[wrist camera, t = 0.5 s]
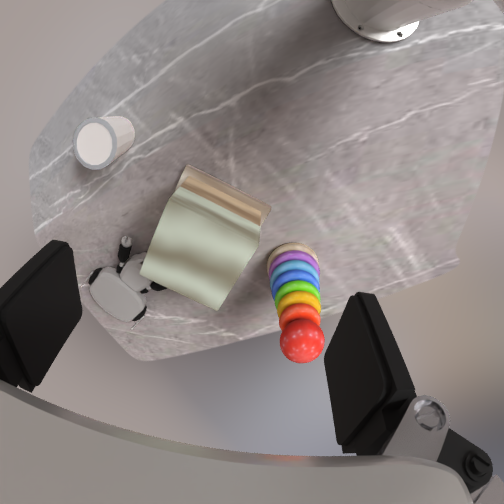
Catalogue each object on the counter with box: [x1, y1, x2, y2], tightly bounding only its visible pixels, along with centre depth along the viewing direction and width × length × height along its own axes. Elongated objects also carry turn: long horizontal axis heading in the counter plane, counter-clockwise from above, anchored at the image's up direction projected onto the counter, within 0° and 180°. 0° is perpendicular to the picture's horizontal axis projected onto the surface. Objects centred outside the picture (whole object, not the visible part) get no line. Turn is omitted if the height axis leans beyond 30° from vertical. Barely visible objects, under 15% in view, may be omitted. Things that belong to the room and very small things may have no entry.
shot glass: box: [73, 116, 135, 170], centre depth 36 cm, size 7×7×7 cm
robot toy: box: [80, 236, 167, 330], centre depth 49 cm, size 12×4×15 cm
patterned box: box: [139, 164, 271, 311], centre depth 40 cm, size 13×13×11 cm
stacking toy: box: [267, 243, 325, 363], centre depth 40 cm, size 8×8×19 cm
